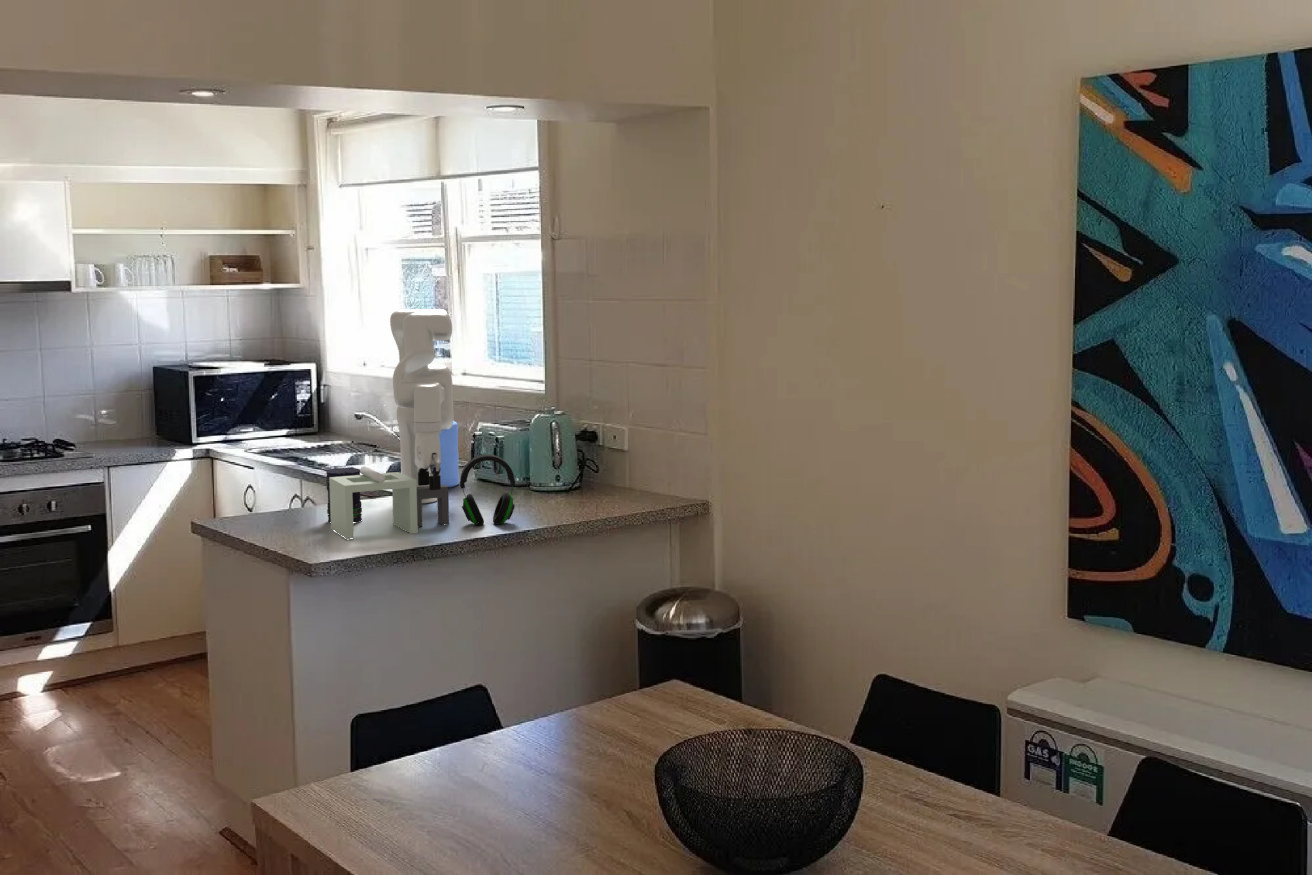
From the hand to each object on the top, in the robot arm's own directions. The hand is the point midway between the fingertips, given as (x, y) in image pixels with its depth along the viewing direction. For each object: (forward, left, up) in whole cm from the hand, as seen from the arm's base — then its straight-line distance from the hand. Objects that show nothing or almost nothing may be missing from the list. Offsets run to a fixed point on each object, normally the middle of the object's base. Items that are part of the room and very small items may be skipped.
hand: (429, 487), depth 399 cm
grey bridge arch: (0, 0, -11) cm, 11 cm away
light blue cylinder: (-65, +24, -11) cm, 71 cm away
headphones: (+7, +15, -11) cm, 20 cm away
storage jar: (-17, -20, -11) cm, 29 cm away
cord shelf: (+2, -17, -11) cm, 20 cm away
